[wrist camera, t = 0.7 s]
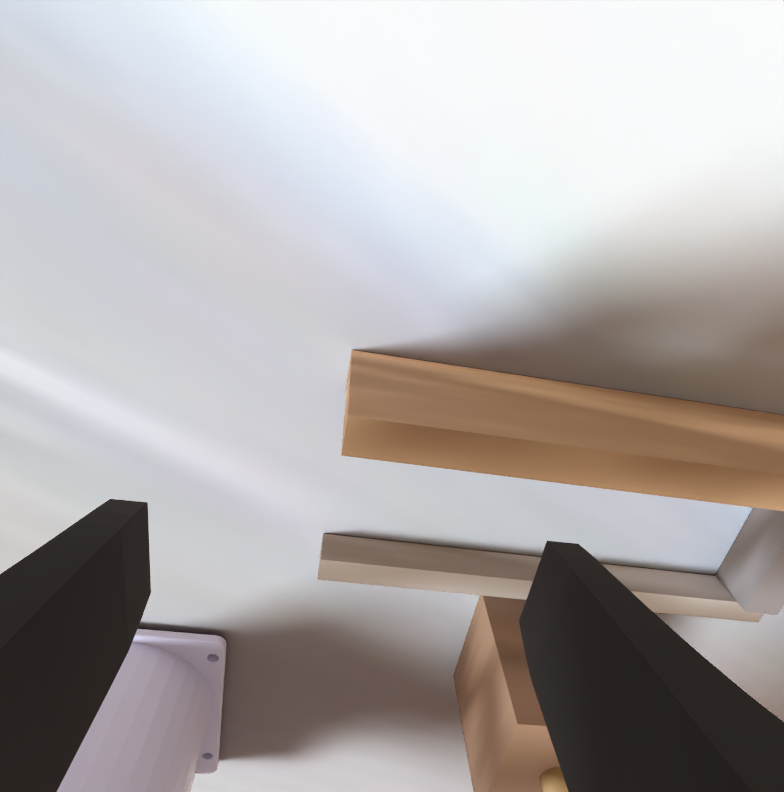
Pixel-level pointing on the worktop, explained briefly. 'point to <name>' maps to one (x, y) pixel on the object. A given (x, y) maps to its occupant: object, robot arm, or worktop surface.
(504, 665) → the cabinet block
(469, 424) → the board
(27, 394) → the worktop surface
